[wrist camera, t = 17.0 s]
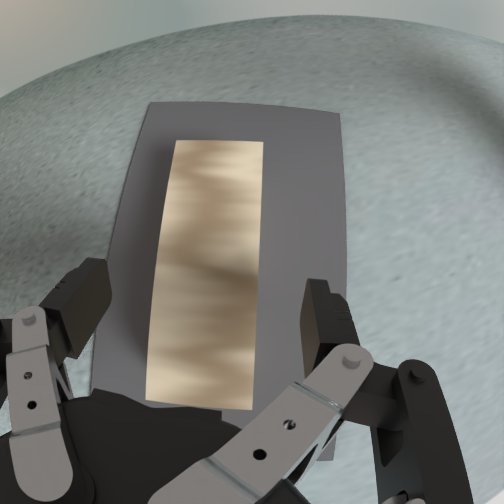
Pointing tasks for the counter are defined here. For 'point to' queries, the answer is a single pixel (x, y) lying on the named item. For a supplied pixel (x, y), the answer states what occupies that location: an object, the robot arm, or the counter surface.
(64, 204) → the counter surface
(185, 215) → the wooden block
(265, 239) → the mat
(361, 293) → the counter surface
